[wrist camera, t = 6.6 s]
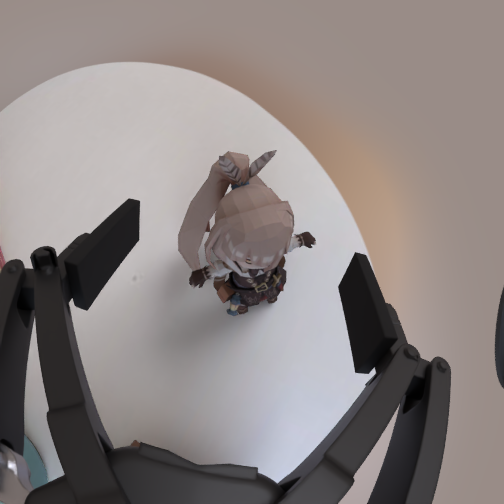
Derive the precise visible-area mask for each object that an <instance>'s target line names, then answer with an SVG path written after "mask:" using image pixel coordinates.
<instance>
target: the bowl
mask: <svg viewBox="0 0 504 504" xmlns="http://www.w3.org/2000/svg"><path fill="white" fill-rule="evenodd" d="M23 458H24V459H25V461H26V462H27V464H28V467H29V469H30V471H31V477H30V481H31V484H32V486H33V487H34V489H35V488H37V487H39V486H42V485H44V484H46V483H48V478H47V473H46V470H45V467H44V465H43V462H42V460H41V458H40V456H39V454H38V452H37V450H36V449H35V447H34V446H33V444H32V443H31V441H30V440H29V439H28V438H27V437H26V435H25V434H24V453H23ZM0 504H4V503H2V502H1V501H0Z"/></svg>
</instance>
